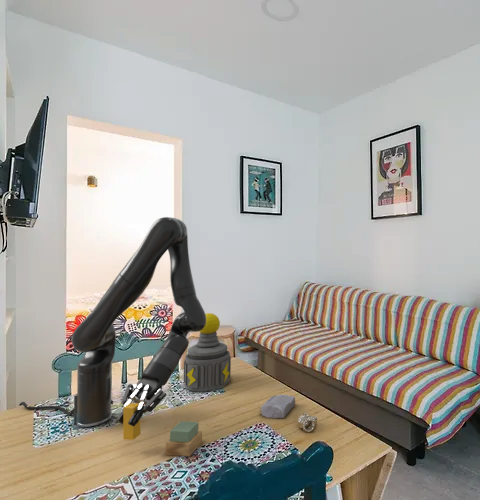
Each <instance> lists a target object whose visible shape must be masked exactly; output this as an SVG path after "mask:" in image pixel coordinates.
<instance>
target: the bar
mask: <svg viewBox="0 0 480 500" xmlns="http://www.w3.org/2000/svg"><path fill="white" fill-rule="evenodd" d="M139 404H140V403H133V402H132V403H130V404H129V405H127V406H125V407H124V406H123V407H122V410H123V423H122V424H123V425H122V426H123V427H122V429H123V432H122V433H123V434H122V437H123V438H122V439H123V440H125V441H127V440H129V441H134V440H136V438H138V437H139V436H140V435H141V419H140V420H139V422H138V423H137V424H136V425H135V426H131V425H129V424H128V422H129V420H130V419H131V417H132V415H133V414H134V412H135V411H136V410H138V406H139Z"/></svg>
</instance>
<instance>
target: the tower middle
mask: <svg viewBox="0 0 480 500" xmlns="http://www.w3.org/2000/svg"><path fill="white" fill-rule="evenodd" d="M198 431H199V421H184V420H183V421H182V420H180V421H179V422H178V423H177V424H176V425H175V426H174V427H172V428H171V429H170V431H169V439H170V441H174V442H189V441H190V440H191V439H192V438H193V437H194V436H195V435H196V434H197V433H198Z"/></svg>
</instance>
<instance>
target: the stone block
mask: <svg viewBox="0 0 480 500" xmlns="http://www.w3.org/2000/svg"><path fill="white" fill-rule="evenodd" d="M295 405H296V397H295V396H292V395H288V394H277V395H273V396H270V398H268V399H267V400H266V401H265V403H263V404H262V406H261V407H260V414H261V416H263V417H265V418H268V419H284V418H285V417H286V416H287V415H288V414H289V413H290V411H291V410H292V409H293V408H294V407H295Z"/></svg>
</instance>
